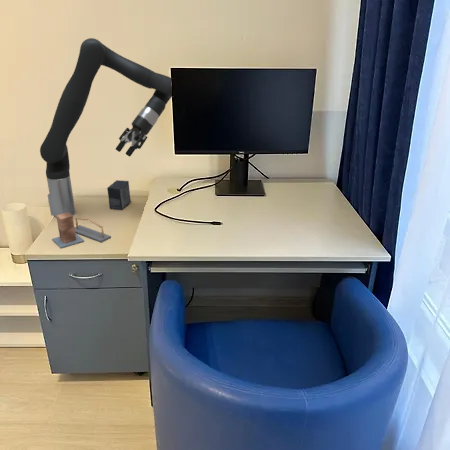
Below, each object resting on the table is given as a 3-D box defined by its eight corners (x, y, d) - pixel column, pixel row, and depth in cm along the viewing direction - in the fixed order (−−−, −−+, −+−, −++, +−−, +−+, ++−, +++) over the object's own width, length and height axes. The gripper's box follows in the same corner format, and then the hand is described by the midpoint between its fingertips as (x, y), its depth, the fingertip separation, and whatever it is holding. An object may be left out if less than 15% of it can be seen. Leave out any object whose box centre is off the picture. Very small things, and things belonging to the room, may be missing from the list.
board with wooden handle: (101, 243, 163) (99, 226, 160) (70, 232, 172) (67, 215, 169) (111, 238, 167) (109, 221, 164) (80, 227, 176) (77, 211, 173)
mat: (60, 248, 159) (60, 247, 158) (52, 239, 165) (51, 238, 165) (84, 241, 164) (84, 240, 164) (74, 233, 170) (74, 232, 170)
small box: (118, 200, 202) (115, 179, 198) (131, 201, 201) (129, 180, 197) (108, 209, 193) (106, 187, 188) (122, 210, 192) (120, 188, 187)
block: (64, 243, 161) (60, 219, 157) (60, 239, 164) (56, 215, 160) (76, 240, 164) (72, 216, 160) (71, 235, 167) (67, 212, 163)
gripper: (130, 112, 176) (107, 143, 174) (148, 117, 166) (124, 151, 164) (142, 123, 181) (120, 154, 179) (160, 129, 171) (137, 162, 170)
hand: (122, 152), depth 172 cm, fingers open, 8 cm apart
